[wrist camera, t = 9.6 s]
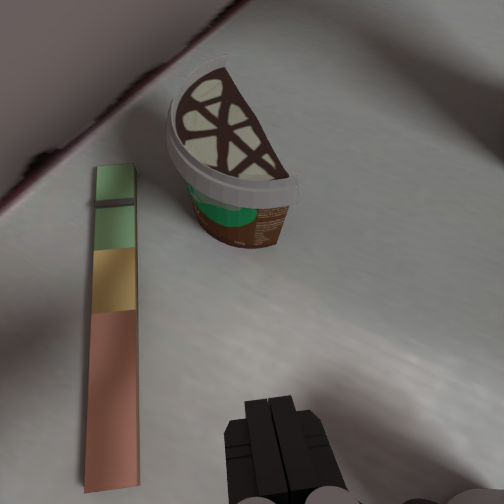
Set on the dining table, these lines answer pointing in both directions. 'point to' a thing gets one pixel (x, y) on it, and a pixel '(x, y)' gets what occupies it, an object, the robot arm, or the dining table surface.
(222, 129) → the food container
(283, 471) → the robot arm
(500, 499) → the beverage can
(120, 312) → the strip
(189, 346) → the dining table surface
